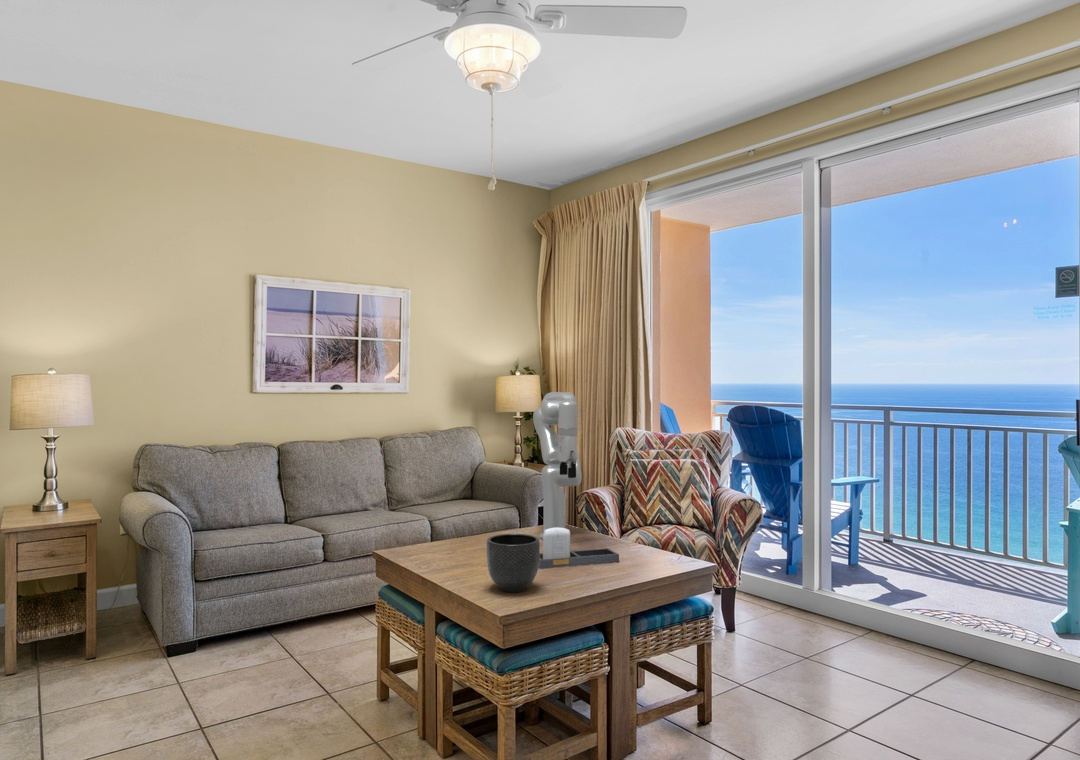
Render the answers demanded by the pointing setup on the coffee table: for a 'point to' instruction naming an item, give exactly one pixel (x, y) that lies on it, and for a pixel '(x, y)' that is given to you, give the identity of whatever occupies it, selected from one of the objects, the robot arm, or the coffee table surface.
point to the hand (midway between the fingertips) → (567, 476)
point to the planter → (513, 560)
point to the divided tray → (580, 558)
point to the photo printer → (556, 543)
